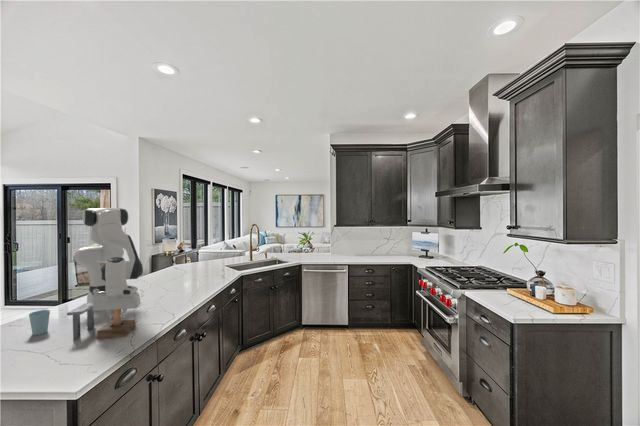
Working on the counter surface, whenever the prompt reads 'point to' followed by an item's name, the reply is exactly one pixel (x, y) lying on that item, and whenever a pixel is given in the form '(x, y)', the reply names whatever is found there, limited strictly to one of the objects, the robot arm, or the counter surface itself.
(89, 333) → the counter surface
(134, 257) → the robot arm
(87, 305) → the grey u-shaped bracket
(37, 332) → the cup
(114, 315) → the peg
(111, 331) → the socket
